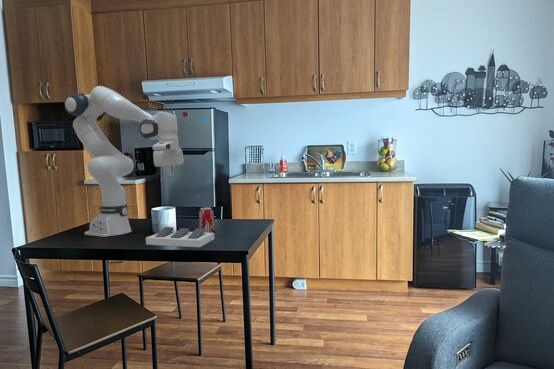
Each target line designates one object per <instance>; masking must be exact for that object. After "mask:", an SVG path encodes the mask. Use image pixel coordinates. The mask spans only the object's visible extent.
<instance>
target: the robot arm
mask: <svg viewBox="0 0 554 369" xmlns="http://www.w3.org/2000/svg"><path fill="white" fill-rule="evenodd" d="M64 108H65V111H66V112H67V113H68V114H70V115H72V116H75V117H76V118H75V119H74V120H73V122H72V127H73V129H74V132H75V134H76V136H77V137H78V139H79V141H80V142H81V143H82V145H83V147H84V149H85V150H86V151H87V153H88V154H89V155H91V156H93V158H91V159H89V161H88V163H87V171H88V173H89V175H90V176H91V177H92V178H93V179H95V181H96V183H97V184H98V186H99V189H100V193H101V194H100V195H101V202H102V203H101V204H102V205H101V206H100V207H98V209H97V210H98V211H99V214H98V215H96V216H95V217H94V218H93V219H92V220H91V221H90V222H89V227H88V228H89V230H87V231H85V232H84V236H94V237H101V238H103V237H111V236H112V237H114V236H119V235H125V234H128V233H131V232H133V231H132V228H131V225H130V221H129V217H128V216H129V215H128V211H129V210H128V203H127V196H126V195H127V194H126V189H125V187H124V186H122V185H121V184H120V181H119V178H120V177H121V178H122V177H125V176H127V175H129V174H132V172H133V170H134V168H135V164H134V160H133V159H132V158H131V157H129V156H127V155H125V154H124V153H122V152H121V151H120V150H118V149H117V147H115V146H114V145H113V144H112V143H111V142H110V140H109V139H108V138H107V136H106V135H105V134H104V132H103V131H102V129H101V127H99V125H98V122H100V121H102V120H103V118H104V117H105V116H106V115H109V116H112V117H113V118H116V119H121V120H129V121H135V122H137V123H139V125H138V130H139V133H140V135H141V137H142V138H144V139H147V140H158V142H156V143H155V144H153V145H152V150H153V153H152V158H153V165H154V167H156V168H160V167H164V170H165V172H166V175H167V177H170V176H174V175H175V173H174V172H175V168H176V166H181V165H184V162H185V161H184V153H183V150H182V148H181V147H180V145H179V137H178V130H179V128H178V120H177V115H176V113H175V112H173V111H168V110H158V111H157V112H156V113H155V114H154V115H153V114H150V113H149V112H148V111H145V110H144V109H142V108H140V107H139V106H137V105H135V104H134V103H132V102H131V101H130V100H129V99H127V98H126V97H124V96H122V95H121V94H120V93H118V92H116V91H115V90H113V89H111V88H108V87H105V86H103V85H98V86H95V87H94V88H92V90H91V91H90V93H89V94H88V93H87V94H85V93H84V92H83V93H72V94H68V95H67V96H66V98H65V100H64Z"/></svg>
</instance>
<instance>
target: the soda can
mask: <svg viewBox="0 0 554 369" xmlns="http://www.w3.org/2000/svg"><path fill="white" fill-rule="evenodd" d="M214 215H215V214H214V210H213V208H212V207H210V206H209V207H208V206H207V207H206V206H205V207H200V208H199V212H198V219H199V220H198V222H199V228H205V233H213V231H215V221H214V220H215V218H214V217H215V216H214Z"/></svg>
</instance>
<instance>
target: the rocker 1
mask: <svg viewBox="0 0 554 369" xmlns="http://www.w3.org/2000/svg"><path fill="white" fill-rule="evenodd" d="M172 231H174V227H173V226H164V227H163V229H161V230H160V231H159V232H157V233H158V234H157V233H156V234H157V235H156V236H155V237H165V236H168V235H169V234H170V233H171V232H172Z"/></svg>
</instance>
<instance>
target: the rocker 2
mask: <svg viewBox="0 0 554 369" xmlns="http://www.w3.org/2000/svg"><path fill="white" fill-rule="evenodd" d="M191 232H192V234H191V235H190V236H189V237H188V238H187V239H197V238H199V237H201V236H202V235H203V234H204V232H205V228H200V227H198V228H195V229H194V230H193V231H191Z"/></svg>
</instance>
